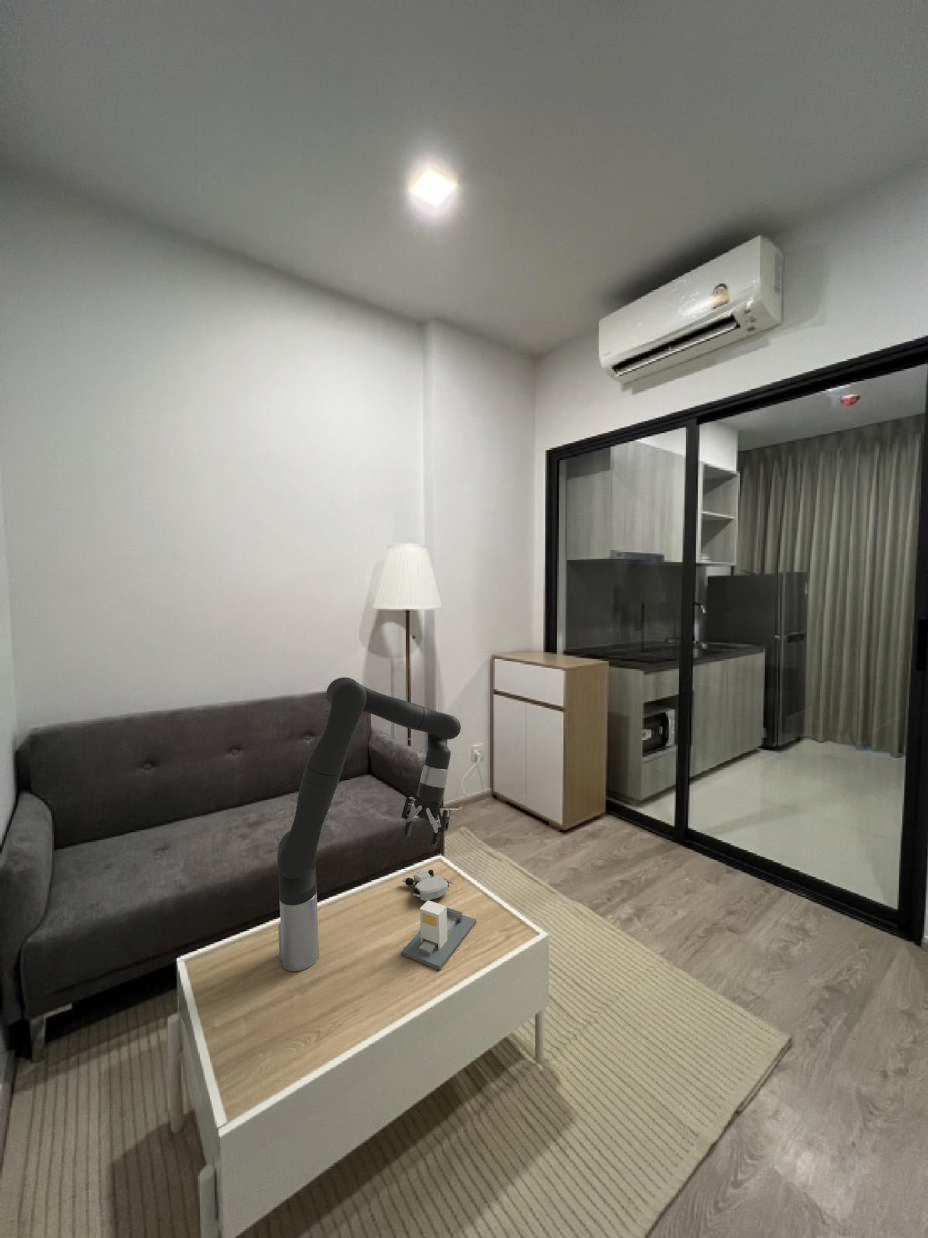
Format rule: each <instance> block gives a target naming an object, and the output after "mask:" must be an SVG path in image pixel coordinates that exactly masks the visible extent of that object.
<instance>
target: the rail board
mask: <svg viewBox="0 0 928 1238" xmlns="http://www.w3.org/2000/svg"><path fill="white" fill-rule="evenodd" d="M476 924H477V919H476V918H473V917H471V916H467V915H464V914H462V922H461V923H459V922H457V924H456V925H455V926H454V927H453V929H452V930H451V931H450V932H449V934H448V935H447V941H446V943H445V944H444V945H443V946H442V947H441V949H440V950H439V949H438V947H437V948H436V950H435V951H434V952H433V953H432V954H431V956H429V955H427V954H424V953H422V952H419V947H420V946H421V945H422V944H423V943H424V942H423V943H421V931H420V930H419V931H418V933H416V934H415V936H413V938H412V939H411V940H410V941H409V942H408V943H407V945H406V946H405V947H404V948H402V950H401V955H402V956H404V957H406V958H409V959H411V960H413V961H416V962H418V963H421V964H423V965H425V966H428V967H431V968H433V969H435V970H437V971H441V970H442V969H444V966H446V964H447V963H448V961H449V960H450V959H451V957H452V956H453V954H454V953H455V952H456V951H457V950H458V948H459V947H460V945H461V944H462V943H463V942H464V940H465V939H466V937H467V936H468V935H469V933H470V932H471V931H472V929H473V928H474V927H475V925H476ZM425 940H426V939H425Z"/></svg>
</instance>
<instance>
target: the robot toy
mask: <svg viewBox="0 0 928 1238" xmlns="http://www.w3.org/2000/svg"><path fill="white" fill-rule="evenodd" d="M401 881H402V883H404V884H405V885H406V886H411V887H412V886H414V889H413V897H416V898H417V899H419V900H420V901H425V902H427V901H428V900H429V901H431V900H435V899H438V898H440V897H443V896H444V895H445V894H447V892H449V887H450V884H452V885H454V882H452V881H449V880H447V879H446V878H445V877H443V876H439V875H437V876H436V875H435V873H434V869H432V868H431V869H428V870H419V871H417V872H414V873H413V878H411V877H405V878H403V879H402V880H401Z"/></svg>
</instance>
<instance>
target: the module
mask: <svg viewBox="0 0 928 1238" xmlns="http://www.w3.org/2000/svg"><path fill="white" fill-rule="evenodd" d="M447 908H448V907H447V906H446V905H443V904H440V903H437V902H435V901H431V900H427V901H425V903H424V904H423V905H422V906H421V907H420V908H419V922H420V923H419V925H420V927H419V929H420V930H419V931H421V943H423V942H424V941H425V939H426V940H429V941H432V942H434V943H437V944H438V949H439V950H440V949H441V947H442V946H443V945H444V944H445V943H446V941H447Z"/></svg>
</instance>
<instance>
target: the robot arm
mask: <svg viewBox="0 0 928 1238" xmlns="http://www.w3.org/2000/svg"><path fill="white" fill-rule="evenodd" d="M326 699H327V702H328V704H329V706H330V711H329V714H328V715H329V716H328V719H327V723H326V726H325V729H324V732H323V734H322V735H321V737H320V739H319V740H318V742H317V744H316V745H315V747H314V748H313V749H312V751H311V753H310V756H309V758H308V760H307V762H306V766H305V768H304V771H303V775H302V778H301V781H300V786H299V790H298V794H297V795H298V796H297V802H296V808H295V814H294V818H293V822H292V825H291V827H290V830H289V831H287V832H286V833H285V834H284V835H283V836H282V837H281V839H280V841H279V844H278V846H277V847H278V848H277V859H276V860H277V866H278V895H279V915H280V916H279V917H280V922H279V924H278V929H277V932H278V934H277V935H278V955H279V961H281V963H282V967H283V968H284V969H285V971H289V972H300V971H304V970H307V969H309V968H310V967H311V966H313V965H314V964H315V963H316V962H317V960H318V959H319V956H320V944H319V943H320V942H319V919H318V918H319V917H318V916H319V915H318V912H319V911H318V892H317V889H318V888H317V870H316V869H317V868H316V866H317V865H316V856H317V850H318V847H319V840H320V836H321V833H322V832H321V831H322V829H323V825H324V821H325V819H326V817H327V815H328V811H329V809H330V808H331V804H332V802H333V800H334V799H333V798H334V796H335V794H336V791H337V787H338V785H339V782H340V780H341V779H340V778H341V776H342V772H343V768H344V765H345V761H346V757H347V755H348V752H349V748H350V744H351V741H352V737H353V734H354V732H355V731H356V730H355V729H356V728H357V726H358V723H359V720H360V719H361V716H362V714H363V713H366V714H370V715H373V716H376V717H379V718H381V719H383V720H386V721H388V722H391V723H393V724H395V725H397V726H401V727H404V728H407V729H411V730H413V731H419V732H423V733H424V732H425V733H427V753H426V755H425V758H424V759H425V760H424V765H423V768H422V771H421V775H420V780H419V784H418V788H417V792H416V798H414V796H410V797H409V796H408V797H406V799H405V801H404V806H403V809H402V813H401V818H402V819H404V820H405V822H406V824H405V828H404V834H405V835H404V836H405V837H408V838H409V837H410V836H412V832H413V827H414V822H415V820H416V819H417V818H419V819H424V820H426V821H429V822H430V824H431V826H432V828H433V832H432V836H431V842H430V846H431V847H436V846H437V845H438V844H439V841H440V836H441V833H445V832H447V831H448V830H449V826H450V817H451V809H450V808H448V809H447V808H442V802H443V799H444V794H445V789H446V785H447V779H448V771H449V765H450V760H451V754H452V753H451V750H450V749H449V747H448V741H449V740H453V739H455V738H456V737H458V736H459V735H460V733H461V729H462V726H461V722H460V720H459V719H458V718H457V717H456V716H454V715H451V714H448V713H446V712H445V713H444V712H441V711H436V710H433V709H430V708H427V707H426V706H423V705H420V704H417V703H414V702H410V701H407V700H403V699H400V698H396V697H393V696H390V695H387V694H383V693H380V692H378V691H376V690H372V689H370V688H368V687H367V686H364V685H363V684H361V683H360V682H358V681H356V680H355V679H353V678H351V677H347V676H345V677H344V676H343V677H338V678H336V679H333V680H332V682H330V683H329V685H328V686H327V688H326ZM413 806H414V808H415V809H414V810H413V812H411V811H412V807H413ZM439 814H440V816H441V820H440V817H439Z"/></svg>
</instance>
